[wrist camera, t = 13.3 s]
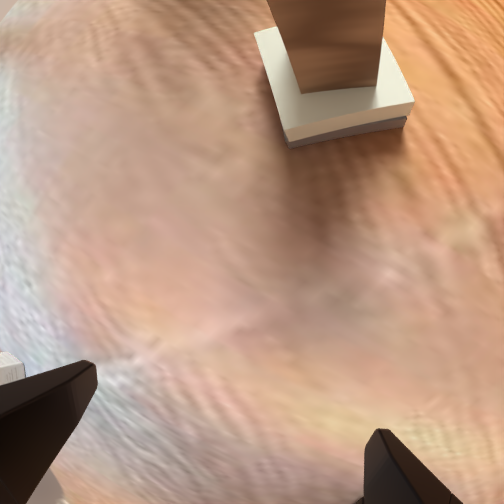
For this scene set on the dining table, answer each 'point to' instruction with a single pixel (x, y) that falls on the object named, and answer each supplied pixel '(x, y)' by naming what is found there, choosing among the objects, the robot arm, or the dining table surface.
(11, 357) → the skincare box
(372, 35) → the walnut pillar
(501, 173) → the dining table surface
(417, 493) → the robot arm
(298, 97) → the tower top block
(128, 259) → the dining table surface
